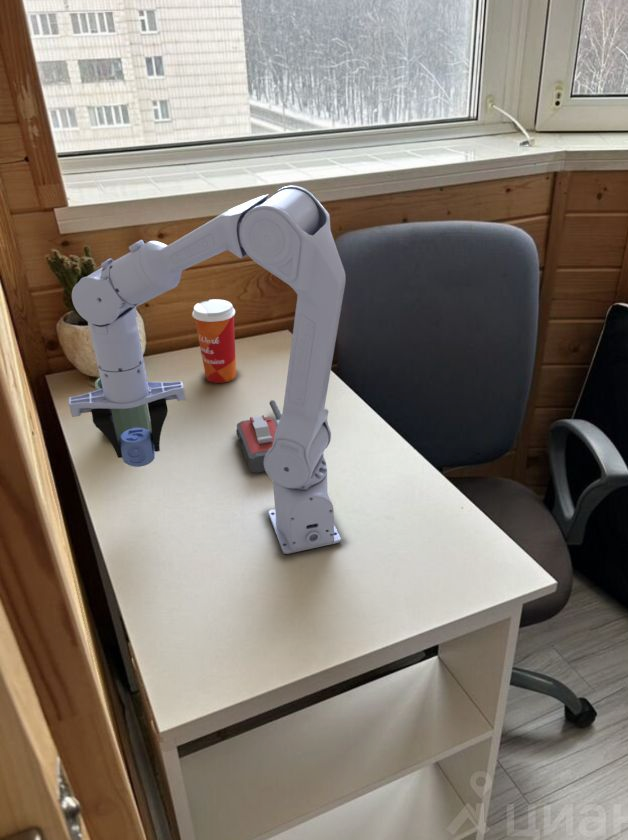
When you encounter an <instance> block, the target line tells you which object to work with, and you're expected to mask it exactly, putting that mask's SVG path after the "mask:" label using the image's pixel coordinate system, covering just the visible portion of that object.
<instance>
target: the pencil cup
mask: <svg viewBox="0 0 628 840" xmlns="http://www.w3.org/2000/svg"><path fill="white" fill-rule="evenodd" d="M94 389H95V391H96V390H99V389H103V388H102V383H101V379H100V376H99V377H97V379H96V380H95V381H94ZM112 410H113V415H114V420H115V425H116V429H117V432H118V435H119V438H120V436H121V435H122V433H123V432H125V431H127V430H129V429H132V428H145V429H147V430H149V431H150V432H151V433H152V430H151V421H150V416H149V410H148V405H147V403H146V404H143V405H140V406H137V407H133V408H127V409H112Z"/></svg>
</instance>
